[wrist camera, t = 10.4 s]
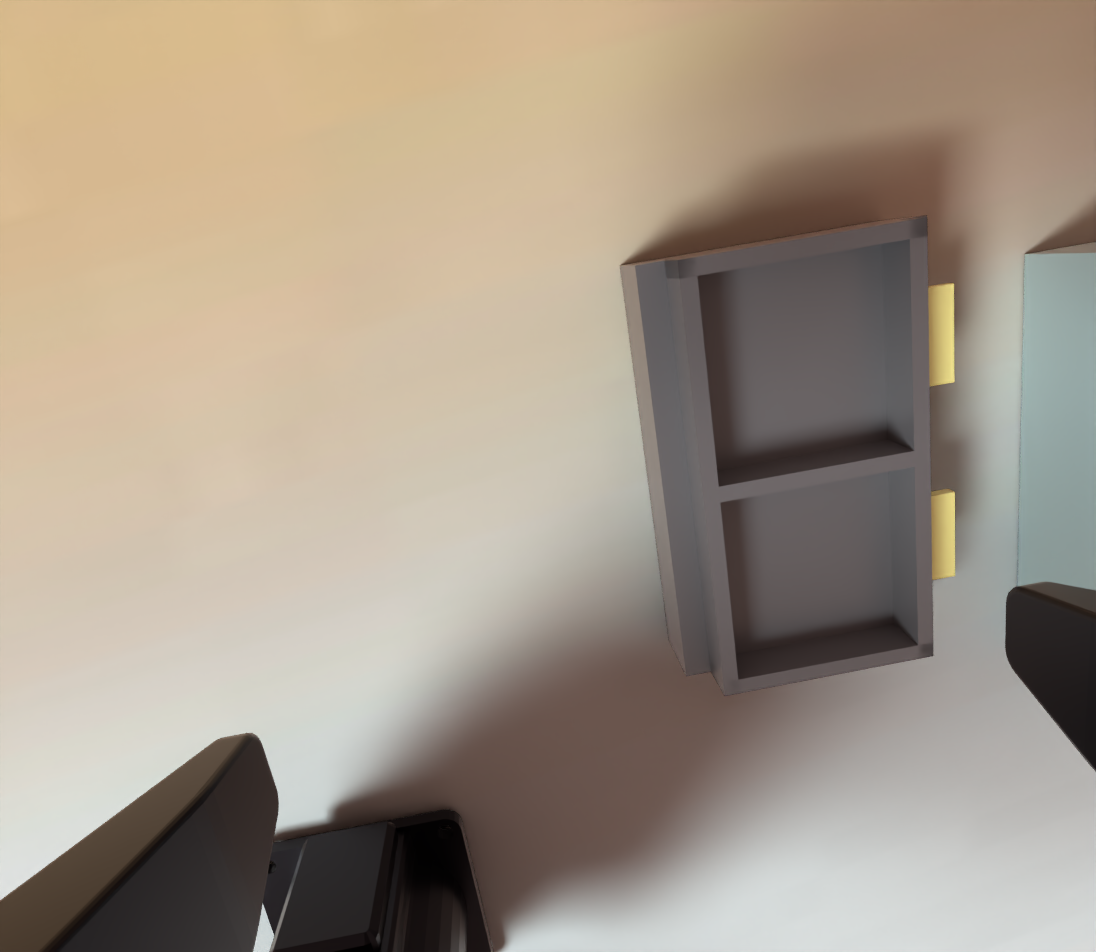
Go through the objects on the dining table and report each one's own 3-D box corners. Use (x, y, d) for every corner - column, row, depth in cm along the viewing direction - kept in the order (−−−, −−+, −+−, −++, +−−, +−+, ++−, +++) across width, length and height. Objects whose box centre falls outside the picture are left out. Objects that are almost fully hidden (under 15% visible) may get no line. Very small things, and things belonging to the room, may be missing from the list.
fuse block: (910, 594, 22) (977, 647, 19) (668, 640, 22) (698, 701, 19) (901, 217, 19) (980, 207, 16) (620, 265, 19) (645, 265, 16)
